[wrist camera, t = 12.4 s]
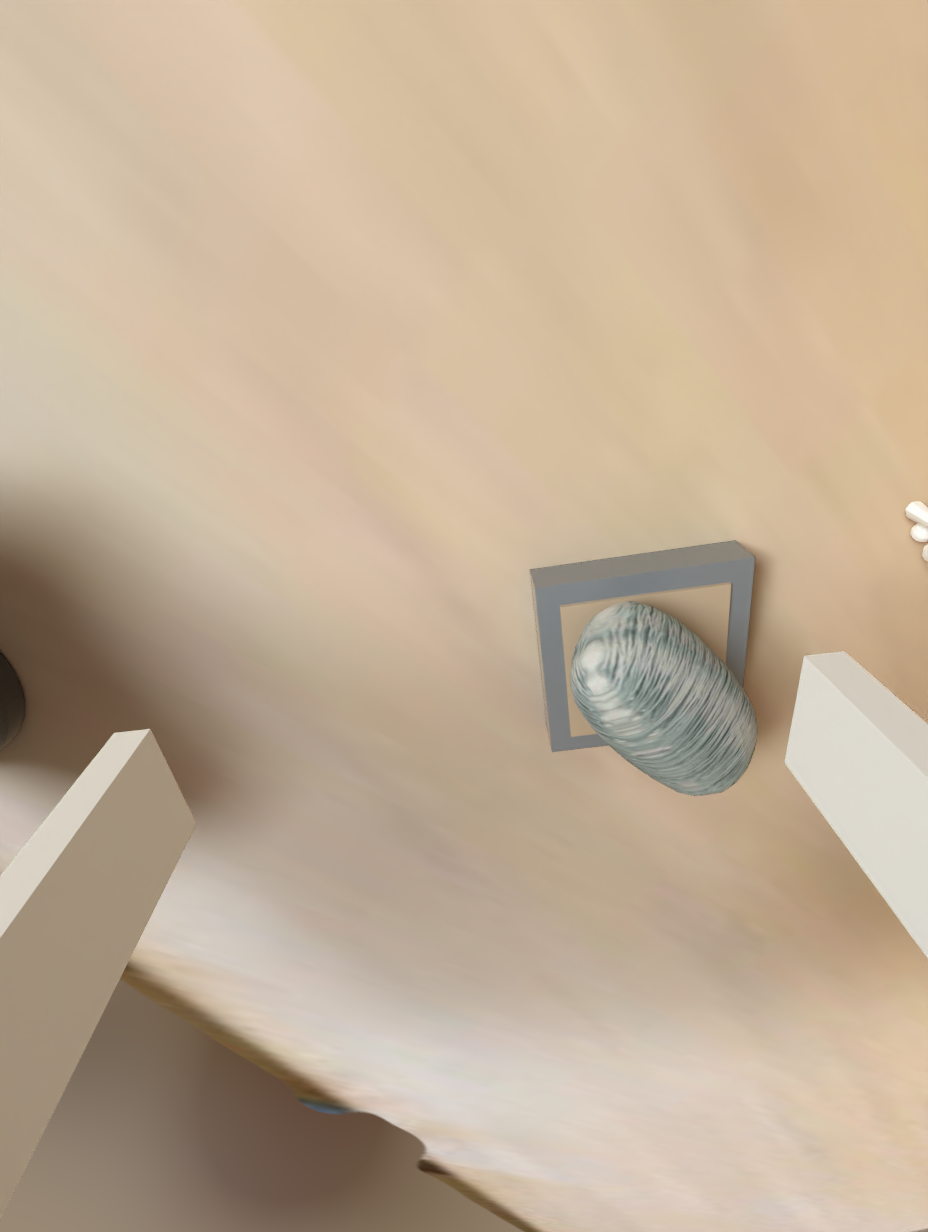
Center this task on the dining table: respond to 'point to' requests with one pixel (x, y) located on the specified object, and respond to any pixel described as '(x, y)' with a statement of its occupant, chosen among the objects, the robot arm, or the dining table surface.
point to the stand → (668, 580)
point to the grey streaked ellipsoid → (663, 699)
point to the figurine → (919, 524)
